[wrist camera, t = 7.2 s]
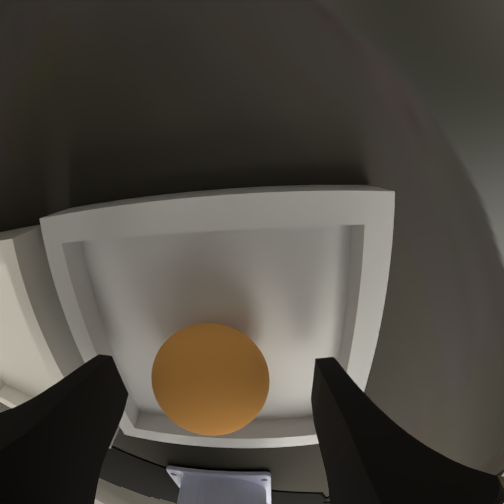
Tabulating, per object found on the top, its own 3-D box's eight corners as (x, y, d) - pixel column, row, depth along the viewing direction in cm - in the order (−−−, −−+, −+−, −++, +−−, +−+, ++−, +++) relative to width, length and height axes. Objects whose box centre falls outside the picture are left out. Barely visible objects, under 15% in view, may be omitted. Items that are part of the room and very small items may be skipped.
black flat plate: (75, 428, 15) (375, 490, 18) (77, 424, 15) (375, 487, 19) (84, 470, 19) (315, 521, 22) (85, 467, 19) (314, 518, 22)
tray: (340, 412, 13) (348, 438, 11) (135, 410, 13) (125, 434, 11) (370, 185, 9) (394, 191, 7) (69, 208, 10) (39, 218, 8)
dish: (122, 420, 14) (110, 448, 11) (10, 383, 14) (-4, 399, 12) (48, 223, 10) (12, 238, 7) (-47, 242, 10) (-68, 253, 8)
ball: (267, 379, 11) (273, 455, 7) (178, 379, 11) (157, 450, 7) (265, 299, 10) (272, 377, 6) (158, 302, 10) (117, 372, 6)
